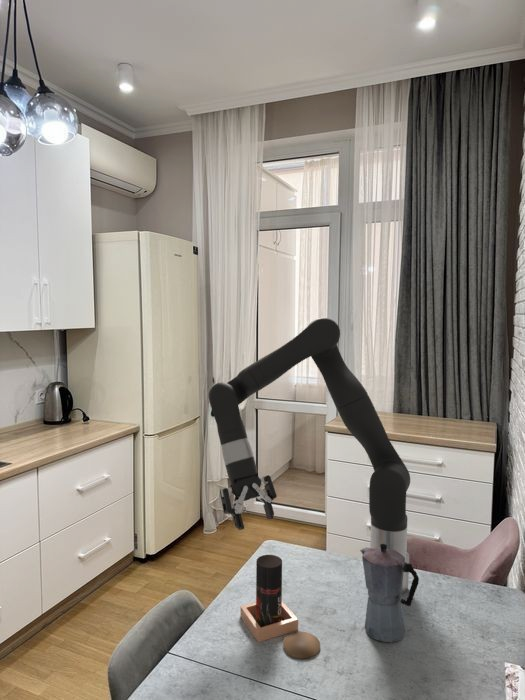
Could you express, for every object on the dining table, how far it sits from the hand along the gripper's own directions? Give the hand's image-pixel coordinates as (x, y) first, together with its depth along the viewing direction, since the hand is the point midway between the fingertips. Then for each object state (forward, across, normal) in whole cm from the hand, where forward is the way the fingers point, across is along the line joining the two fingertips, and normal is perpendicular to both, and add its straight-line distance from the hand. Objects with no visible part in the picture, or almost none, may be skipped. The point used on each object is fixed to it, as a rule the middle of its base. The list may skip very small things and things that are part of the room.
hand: (256, 524), depth 119 cm
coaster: (+26, +2, +9) cm, 28 cm away
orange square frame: (+22, +3, 0) cm, 22 cm away
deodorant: (+22, +3, 0) cm, 22 cm away
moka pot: (+30, -18, +14) cm, 38 cm away
